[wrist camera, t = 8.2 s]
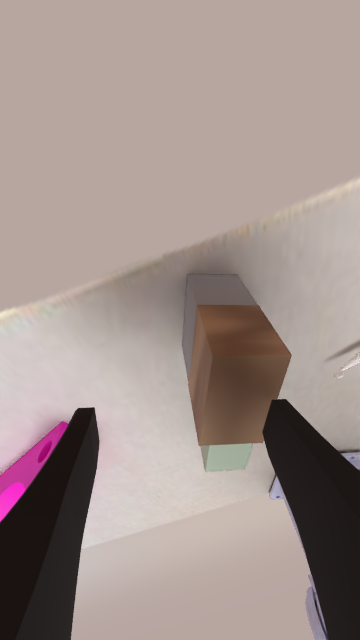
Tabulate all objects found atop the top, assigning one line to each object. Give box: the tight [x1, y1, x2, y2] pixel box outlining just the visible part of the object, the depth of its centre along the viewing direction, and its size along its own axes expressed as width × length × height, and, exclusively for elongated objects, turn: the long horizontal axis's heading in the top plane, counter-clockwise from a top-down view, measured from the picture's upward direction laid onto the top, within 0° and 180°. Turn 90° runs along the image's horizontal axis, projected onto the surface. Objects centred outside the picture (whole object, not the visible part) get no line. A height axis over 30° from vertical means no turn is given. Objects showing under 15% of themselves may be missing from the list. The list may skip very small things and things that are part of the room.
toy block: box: [0, 421, 68, 522], centre depth 27 cm, size 15×6×8 cm, turn 134°
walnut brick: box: [188, 305, 292, 446], centre depth 16 cm, size 4×6×4 cm, turn 176°
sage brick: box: [201, 443, 253, 472], centre depth 25 cm, size 4×6×4 cm, turn 177°
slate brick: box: [182, 274, 257, 382], centre depth 20 cm, size 4×6×4 cm, turn 177°
